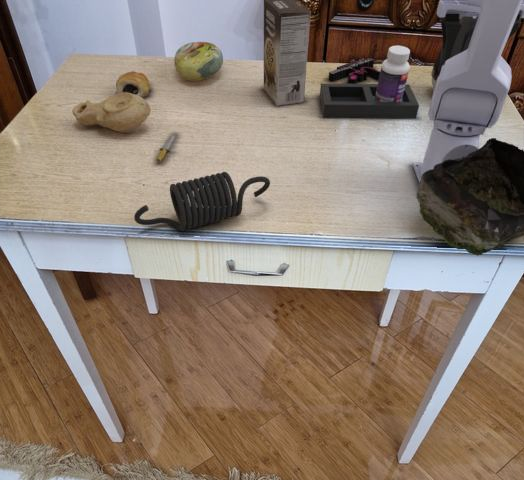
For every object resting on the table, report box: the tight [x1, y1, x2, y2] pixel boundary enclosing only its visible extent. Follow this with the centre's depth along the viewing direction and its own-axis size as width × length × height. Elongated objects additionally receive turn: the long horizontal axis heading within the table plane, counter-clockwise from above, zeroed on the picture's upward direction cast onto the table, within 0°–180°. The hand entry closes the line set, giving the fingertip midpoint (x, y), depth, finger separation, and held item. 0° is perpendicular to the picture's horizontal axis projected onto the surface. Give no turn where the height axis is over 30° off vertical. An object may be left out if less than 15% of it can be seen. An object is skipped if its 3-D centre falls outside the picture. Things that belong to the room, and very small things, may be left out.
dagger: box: [156, 134, 176, 163], centre depth 83 cm, size 11×1×2 cm
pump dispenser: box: [430, 16, 478, 90], centre depth 92 cm, size 10×10×15 cm
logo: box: [328, 58, 381, 84], centre depth 103 cm, size 13×2×10 cm
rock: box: [415, 137, 524, 257], centre depth 65 cm, size 18×20×10 cm
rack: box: [319, 82, 420, 119], centre depth 94 cm, size 10×18×2 cm, turn 89°
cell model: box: [173, 41, 224, 82], centre depth 103 cm, size 11×8×15 cm
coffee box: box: [263, 0, 312, 107], centre depth 92 cm, size 9×6×16 cm
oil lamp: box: [71, 92, 151, 134], centre depth 86 cm, size 11×14×5 cm
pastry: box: [115, 70, 151, 98], centre depth 97 cm, size 9×7×4 cm
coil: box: [133, 171, 271, 232], centre depth 67 cm, size 7×20×9 cm
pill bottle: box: [375, 45, 411, 102], centre depth 90 cm, size 5×5×10 cm
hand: (465, 64), depth 82 cm, fingers open, 7 cm apart
